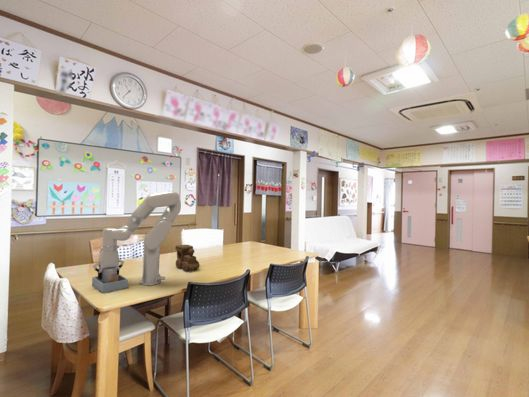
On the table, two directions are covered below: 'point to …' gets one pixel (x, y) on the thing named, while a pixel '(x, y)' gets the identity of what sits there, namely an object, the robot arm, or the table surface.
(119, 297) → the table surface
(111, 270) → the medicine box
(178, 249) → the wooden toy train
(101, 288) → the tote
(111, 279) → the walnut cylinder
